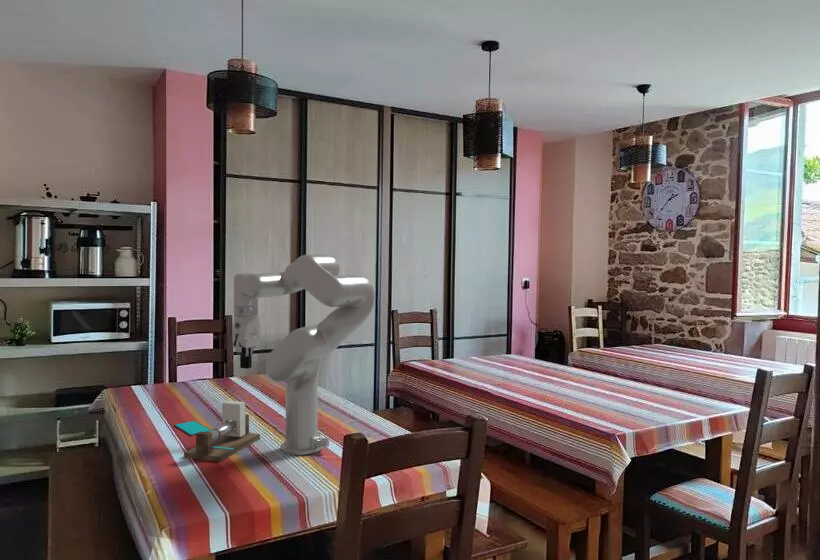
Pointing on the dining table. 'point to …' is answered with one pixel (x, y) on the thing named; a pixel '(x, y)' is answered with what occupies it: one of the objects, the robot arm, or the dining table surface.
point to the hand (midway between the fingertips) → (245, 367)
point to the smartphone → (192, 427)
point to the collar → (234, 416)
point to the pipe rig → (221, 442)
